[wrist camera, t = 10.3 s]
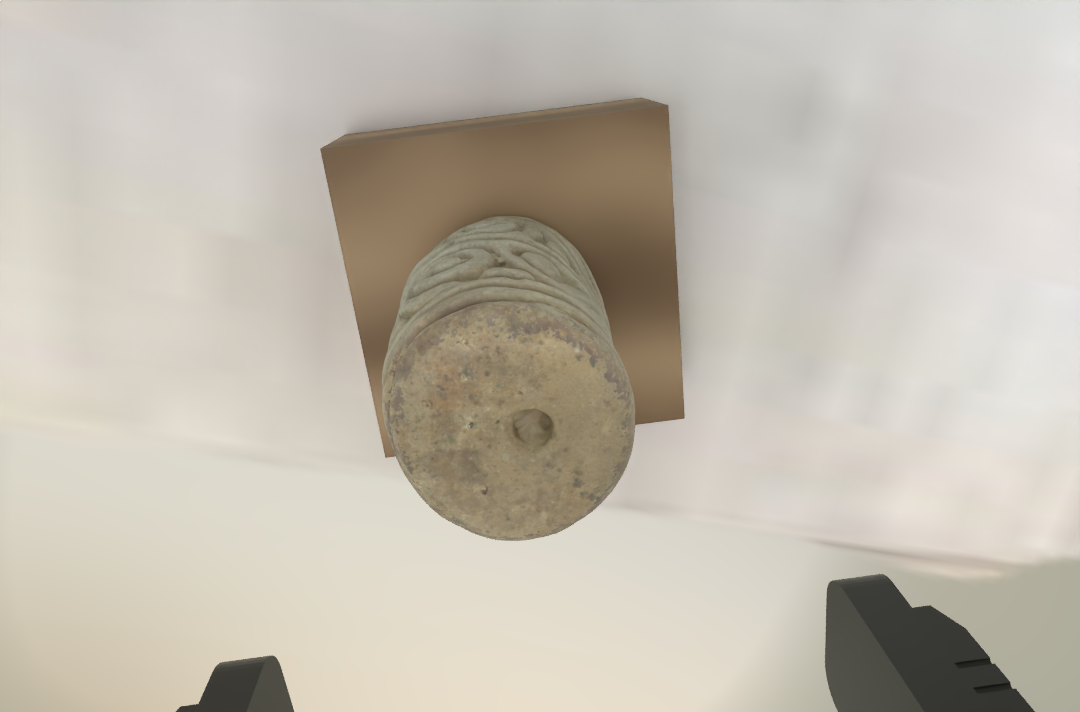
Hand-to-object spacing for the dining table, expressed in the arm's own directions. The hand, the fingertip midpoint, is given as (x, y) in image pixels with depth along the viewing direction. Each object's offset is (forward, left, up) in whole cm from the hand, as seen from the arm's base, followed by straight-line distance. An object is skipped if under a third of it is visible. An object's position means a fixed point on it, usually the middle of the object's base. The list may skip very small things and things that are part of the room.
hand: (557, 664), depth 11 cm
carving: (0, 0, -19) cm, 19 cm away
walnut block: (0, 0, -24) cm, 24 cm away
